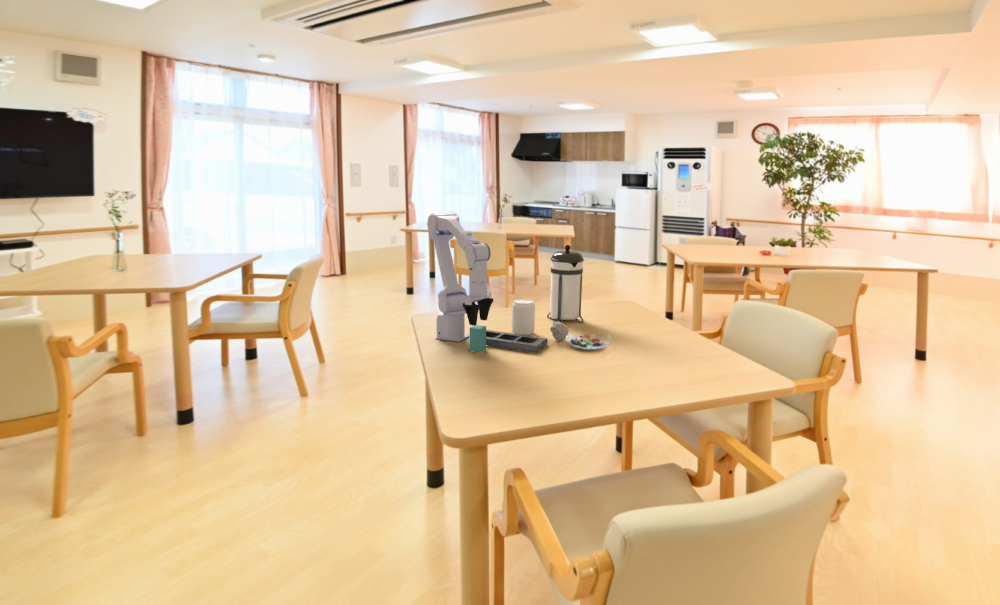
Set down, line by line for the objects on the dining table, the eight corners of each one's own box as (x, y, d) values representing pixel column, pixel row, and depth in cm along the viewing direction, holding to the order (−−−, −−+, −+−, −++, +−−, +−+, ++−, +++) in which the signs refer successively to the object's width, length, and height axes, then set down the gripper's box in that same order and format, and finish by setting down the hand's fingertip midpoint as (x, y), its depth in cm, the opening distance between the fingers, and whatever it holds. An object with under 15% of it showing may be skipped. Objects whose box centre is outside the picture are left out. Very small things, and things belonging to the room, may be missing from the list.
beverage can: (538, 332, 220) (539, 300, 217) (527, 337, 213) (527, 304, 210) (519, 329, 224) (519, 297, 221) (507, 334, 217) (508, 301, 215)
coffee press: (591, 318, 241) (594, 244, 234) (573, 327, 228) (577, 248, 221) (552, 312, 250) (554, 240, 243) (533, 320, 237) (535, 244, 230)
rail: (469, 343, 205) (469, 336, 205) (483, 336, 214) (483, 329, 214) (536, 353, 195) (536, 345, 195) (547, 345, 204) (547, 338, 204)
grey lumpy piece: (545, 341, 209) (546, 321, 208) (558, 337, 214) (559, 318, 212) (559, 344, 205) (560, 325, 203) (572, 340, 210) (573, 321, 208)
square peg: (469, 351, 197) (469, 327, 195) (475, 348, 200) (475, 324, 198) (480, 353, 195) (480, 329, 193) (485, 349, 198) (486, 326, 197)
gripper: (478, 285, 185) (479, 328, 187) (499, 278, 197) (499, 319, 200) (458, 284, 188) (459, 326, 190) (480, 277, 200) (480, 316, 203)
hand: (478, 322), depth 195 cm, fingers open, 7 cm apart
